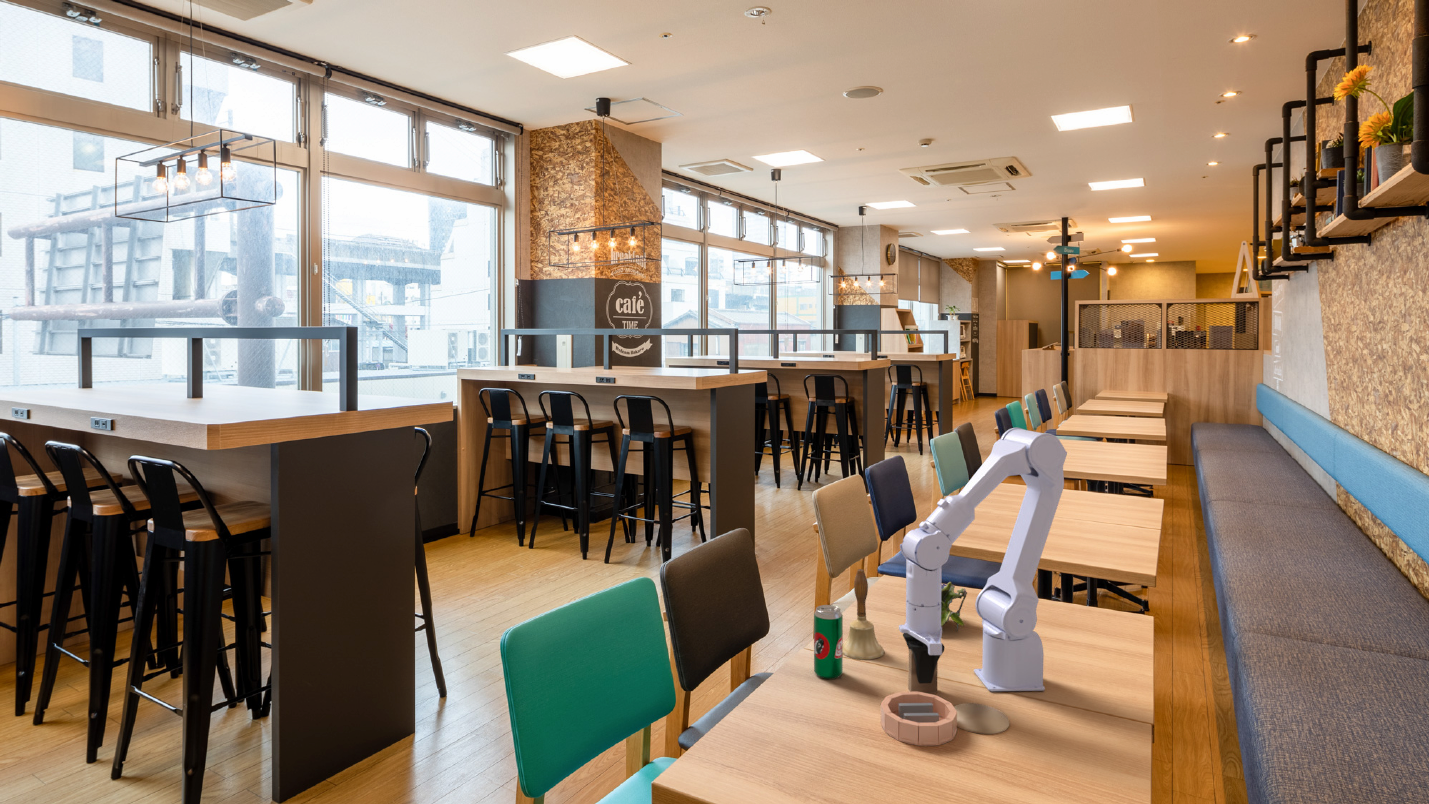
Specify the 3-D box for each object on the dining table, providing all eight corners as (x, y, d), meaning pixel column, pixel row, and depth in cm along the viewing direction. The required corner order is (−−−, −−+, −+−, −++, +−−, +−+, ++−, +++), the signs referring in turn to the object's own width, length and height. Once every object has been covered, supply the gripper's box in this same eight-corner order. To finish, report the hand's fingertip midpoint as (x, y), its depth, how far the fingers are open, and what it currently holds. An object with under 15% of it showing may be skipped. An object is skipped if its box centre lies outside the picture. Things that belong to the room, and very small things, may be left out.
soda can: (842, 681, 134) (842, 614, 133) (813, 679, 135) (812, 613, 134) (843, 669, 139) (843, 604, 138) (815, 667, 140) (814, 603, 139)
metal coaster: (996, 705, 124) (996, 702, 124) (1018, 733, 115) (1018, 731, 115) (941, 706, 124) (941, 703, 124) (959, 734, 115) (959, 732, 115)
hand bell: (856, 663, 141) (856, 578, 140) (831, 647, 149) (831, 566, 148) (892, 655, 145) (893, 572, 143) (867, 639, 152) (867, 561, 151)
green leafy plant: (929, 644, 163) (941, 591, 168) (974, 651, 154) (985, 594, 159) (897, 625, 157) (911, 570, 162) (942, 630, 149) (955, 572, 154)
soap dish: (943, 708, 124) (943, 690, 123) (966, 745, 112) (966, 725, 112) (874, 709, 123) (874, 691, 123) (890, 746, 112) (890, 726, 112)
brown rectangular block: (934, 688, 131) (934, 648, 130) (937, 693, 129) (937, 652, 128) (908, 688, 131) (908, 649, 130) (911, 693, 129) (911, 653, 128)
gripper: (889, 587, 136) (889, 661, 137) (911, 617, 121) (910, 699, 122) (929, 587, 136) (928, 661, 137) (955, 616, 121) (954, 699, 123)
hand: (922, 679), depth 130 cm, fingers closed on brown rectangular block, 2 cm apart
